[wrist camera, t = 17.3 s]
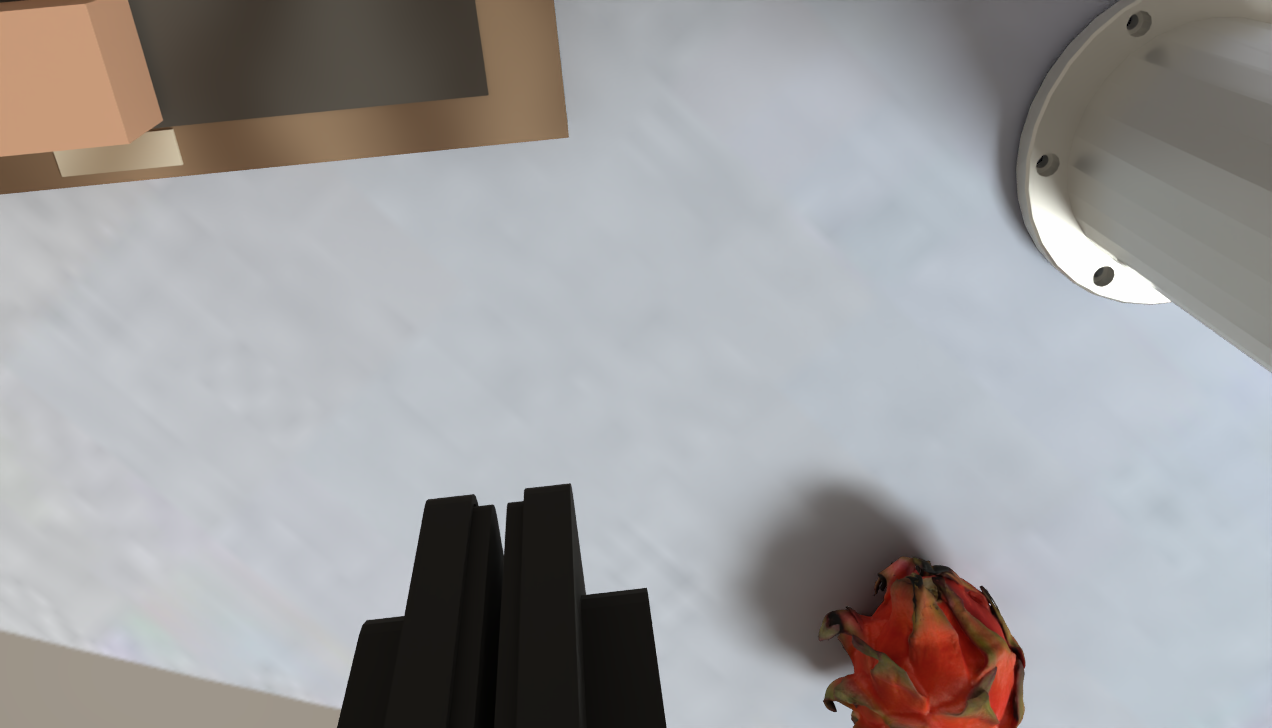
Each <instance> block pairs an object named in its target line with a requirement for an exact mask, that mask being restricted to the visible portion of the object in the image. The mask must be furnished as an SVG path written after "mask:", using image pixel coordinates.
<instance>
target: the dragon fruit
mask: <svg viewBox="0 0 1272 728" xmlns="http://www.w3.org/2000/svg"><path fill="white" fill-rule="evenodd" d="M916 565H918V566H919V567H920V569H921V572H920V574H919V573H918V572H917V570H916V568H915V566H916ZM878 576H879V578H878V580H877V581H876V582H874V583H876V584H875V587H874V590H875V593H874V596H875V595H876V594H877V592H878V590H879V589H880V588H881V590H882V591H883V590H884V589H885V588H886V586H887V591H886V593H885V595H884V601H883V602H882V603H881V605H880V606H879V607H878V608H877V610H876V611H875V613H874V614H873V615H872V616H871V617H869V616H865V615H860V614H858V613H857V612H856V611H855V610H853V609H852V608H851V607H846V608H847V609H845V610H836V611H832V612H830V613H828V614H827V615H826V616H825V617H824V619H823V622H822V626H821V628H820V631H819V636H818V637H819V641H822V640H829V639H831V638H833V637H834V636H835V635H837V634H839V636H838V637H837V638H838V640H839V641H840V642H841V643H842V645H843V648H844V649H845V650H846V652H847V653H848V655H849V656H850V658H851V660H852V663H853V666H854V674H850V675H847V676H845V677H841V678H838V679H836V680H835V681H833V682H832V683H831V684H830V685H829V686H828V688H827V690H826V693H825V698H824V701H823V702H824V704H825V706H826V708H827V709H829V710H831V711H833V712H837V710H836V707H835V705H834V703H833V701H838V702H840V703H841V704H843V705H845V706H847V707H849V708H850V709H852V710H853V711H852V714H851V716H852V718H851V720H852V721H853V723H854V724H855V725H854V726H853V728H1017V727H1018V725H1019V724H1020V723H1021V721H1022V719H1023V715H1024V712H1025V707H1024V703H1023V680H1024V674H1025V673H1024V668H1025V658H1024V653H1023V650H1022V648H1021V647H1020V646H1019V645H1018V643H1017V641H1016V640H1015V638H1014V637H1013V636H1012V635H1011V633H1010V631H1009V629H1008V627H1007V625H1006V623H1005V621H1004V620H1003V617H1002V616H1001V614H1000V611H999V609H998V607H997V605H996V604H995V602H994V600H993V598H992V597H991V596H990V594H989V593H988V591H987V590H986V589H985V588H984V587H983V586H980V589H981V590H982V592H981V591H979V590H978V589H976V588H975V587H974V586H972V585H971V584H970V583H968V582H967V581H965V580H964V579H962V578H960V577H959V576H958V575H957V574H956V573H955V572H954V571H953V570H952V569H950V568H949V567H946V566H941V565H939V566H938V565H934V566H931V563H930V561H925V560H923V559H920V558H915V557H913V558H910V557H905V556H902V557H900V558H899V559H898V560H897V561H895V562H894V563H893V562H892V563H891V565H890V566H888V567H887V568H886V569H885V570H883V571H881V572H880V573H878ZM881 582H882V584H881V586H880V588H879V585H880V583H881ZM992 600H993V602H994V604H995V605H996V607H995V605H994V604H993V602H992ZM989 603H990V604H991V606H990V605H989Z"/></svg>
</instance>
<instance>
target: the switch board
mask: <svg viewBox="0 0 1272 728" xmlns="http://www.w3.org/2000/svg"><path fill="white" fill-rule="evenodd" d="M13 1H23V0H0V3H2V2H13ZM128 3H129V6H130V9H131V13H132V16H133V20H134V23H135V26H136V30H137V33H138V37H139V40H140V43H141V47H142V50H143V54H144V57H145V60H146V64H147V67H148V71H149V74H150V77H151V81H152V84H153V88H154V91H155V94H156V98H157V101H158V105H159V108H160V111H161V115H162V118H163V121H162V122H160V123H159V124H157V125H156V126H155V127H153V128H152V129H150V130H149V131H147V132H146V133H144V134H143V135H142V136H140V137H139V138H137V139H136V140H134V141H133V142H132V143H130V144H124V145H114V146H104V147H94V148H84V149H74V150H64V151H54V152H43V153H33V154H23V155H13V156H3V157H0V194H9V193H19V192H29V191H39V190H49V189H59V188H69V187H79V186H89V185H99V184H109V183H119V182H129V181H139V180H149V179H159V178H169V177H179V176H189V175H199V174H209V173H219V172H229V171H239V170H249V169H259V168H269V167H279V166H289V165H299V164H309V163H319V162H329V161H339V160H349V159H359V158H369V157H379V156H388V155H398V154H408V153H418V152H428V151H438V150H448V149H458V148H468V147H478V146H488V145H498V144H508V143H518V142H528V141H538V140H548V139H558V138H568V137H569V135H568V123H567V114H566V105H565V96H564V87H563V79H562V70H561V61H560V52H559V43H558V34H557V25H556V16H555V7H554V0H128Z"/></svg>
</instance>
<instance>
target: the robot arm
mask: <svg viewBox="0 0 1272 728" xmlns="http://www.w3.org/2000/svg"><path fill="white" fill-rule="evenodd" d="M1131 16H1132V21H1131V23H1130V24H1129V25H1128V26H1127V23H1128V21H1129V18H1130V17H1131ZM1042 156H1043V159H1042V161H1041V162H1040V163H1039V164H1037V162H1038V160H1039V159H1040V158H1041V157H1042ZM1016 176H1017V196H1018V201H1019V205H1020V209H1021V213H1022V216H1023V220H1024V224H1025V226H1026V228H1027V230H1028V232H1029V234H1030V236H1031V238H1032V239H1033V241H1034V243H1035V245H1036V247H1037V249H1038V250H1039V251H1040V252H1041V253H1042V254H1043V255H1044V257H1045V258H1046V259H1047V260H1048V261H1049V262H1050V263H1051V265H1052V266H1053V267H1054V268H1055V269H1057V270H1058V271H1059V272H1061V273H1062V274H1063V275H1064V276H1066V277H1067V278H1068V279H1069V280H1070V281H1072V282H1073V283H1074V284H1076V285H1078V286H1079V287H1081V288H1083V289H1085V290H1086V291H1088V292H1090V293H1092V294H1094V295H1097V296H1100V297H1104V298H1107V299H1111V300H1114V301H1118V302H1121V303H1133V304H1146V305H1153V304H1162V303H1171V302H1173V303H1174V304H1176V305H1177V306H1178V307H1180V308H1181V309H1183V310H1184V311H1185V312H1187V313H1188V314H1190V315H1191V316H1192V317H1194V318H1195V319H1197V320H1198V321H1199V322H1201V323H1202V324H1204V325H1205V326H1206V327H1208V328H1209V329H1211V330H1212V331H1213V332H1215V333H1216V334H1218V335H1219V336H1220V337H1222V338H1223V339H1225V340H1226V341H1227V342H1229V343H1230V344H1232V345H1233V346H1234V347H1236V348H1237V349H1239V350H1240V351H1241V352H1243V353H1244V354H1246V355H1247V356H1248V357H1250V358H1251V359H1253V360H1254V361H1255V362H1257V363H1258V364H1260V365H1261V366H1262V367H1264V368H1265V369H1267V370H1268V371H1269V372H1271V373H1272V0H1120V1H1118V2H1117V3H1115V4H1114V5H1113V6H1111V7H1110V8H1108V9H1107V10H1106V11H1104V12H1103V13H1102V14H1100V15H1099V16H1097V17H1096V18H1095V19H1094V20H1093V21H1092V22H1091V23H1090V24H1089V25H1088V26H1087V27H1086V28H1085V29H1084V30H1083V31H1082V32H1081V33H1080V34H1079V35H1078V36H1077V37H1076V38H1075V39H1074V40H1073V41H1072V42H1071V43H1070V44H1069V45H1068V46H1067V48H1066V49H1065V50H1064V52H1063V53H1062V54H1061V56H1060V57H1059V58H1058V60H1057V61H1056V62H1055V64H1054V65H1053V67H1052V68H1051V69H1050V71H1049V72H1048V73H1047V75H1046V77H1045V79H1044V81H1043V83H1042V85H1041V87H1040V89H1039V90H1038V92H1037V94H1036V96H1035V98H1034V100H1033V102H1032V104H1031V106H1030V109H1029V112H1028V116H1027V119H1026V122H1025V125H1024V128H1023V131H1022V134H1021V137H1020V144H1019V151H1018V158H1017V165H1016ZM337 728H666V720H665V713H664V706H663V699H662V692H661V684H660V677H659V670H658V663H657V656H656V648H655V641H654V634H653V627H652V620H651V612H650V605H649V598H648V592H647V588H642V589H633V590H624V591H616V592H607V593H599V594H590V595H586V591H585V584H584V576H583V568H582V561H581V553H580V546H579V538H578V530H577V523H576V515H575V507H574V500H573V493H572V487H571V483H570V484H561V485H553V486H544V487H535V488H526V489H525V490H524V501H521V502H512V503H508V504H507V515H506V532H505V549H504V554H503V548H502V543H501V537H500V531H499V526H498V520H497V514H496V510H495V507H494V505H485V506H478V502H477V499H476V496H475V495H474V494H472V495H463V496H454V497H446V498H437V499H428V500H427V501H426V504H425V508H424V513H423V518H422V524H421V529H420V535H419V540H418V545H417V551H416V556H415V562H414V567H413V572H412V578H411V583H410V589H409V594H408V599H407V605H406V610H405V616H400V617H392V618H383V619H375V620H367V621H366V622H365V623H364V624H363V625H362V628H361V631H360V634H359V638H358V642H357V646H356V650H355V655H354V659H353V663H352V667H351V671H350V676H349V680H348V684H347V688H346V692H345V697H344V701H343V705H342V709H341V713H340V718H339V722H338V726H337Z"/></svg>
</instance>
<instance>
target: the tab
mask: <svg viewBox="0 0 1272 728" xmlns="http://www.w3.org/2000/svg"><path fill="white" fill-rule="evenodd" d="M162 121H163V118H162V115H161V111H160V108H159V105H158V101H157V98H156V94H155V91H154V88H153V84H152V81H151V77H150V74H149V71H148V67H147V64H146V60H145V57H144V54H143V50H142V47H141V43H140V40H139V37H138V33H137V30H136V26H135V23H134V20H133V16H132V13H131V9H130V6H129V3H128V0H23V1H13V2H2V3H0V157H3V156H13V155H23V154H33V153H43V152H54V151H64V150H74V149H84V148H94V147H104V146H114V145H124V144H130V143H132V142H133V141H134V140H136V139H137V138H139V137H140V136H142V135H143V134H144V133H146V132H147V131H149V130H150V129H152V128H153V127H155V126H156V125H157V124H159V123H160V122H162Z"/></svg>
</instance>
